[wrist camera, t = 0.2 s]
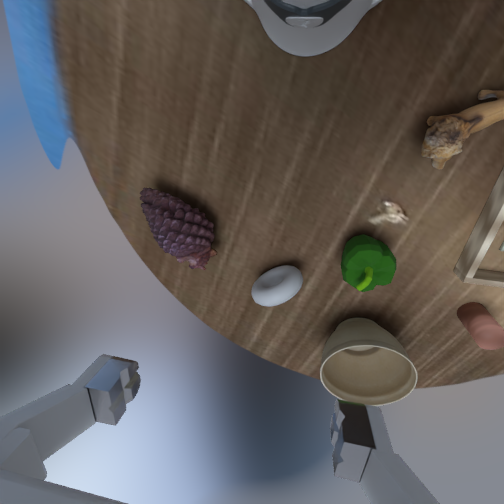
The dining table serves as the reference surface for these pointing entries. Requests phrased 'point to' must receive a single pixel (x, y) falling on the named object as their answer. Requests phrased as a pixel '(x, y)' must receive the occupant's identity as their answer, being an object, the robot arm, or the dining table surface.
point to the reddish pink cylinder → (481, 326)
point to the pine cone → (178, 227)
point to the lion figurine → (460, 127)
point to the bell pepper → (367, 263)
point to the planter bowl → (366, 364)
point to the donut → (277, 285)
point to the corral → (483, 241)
